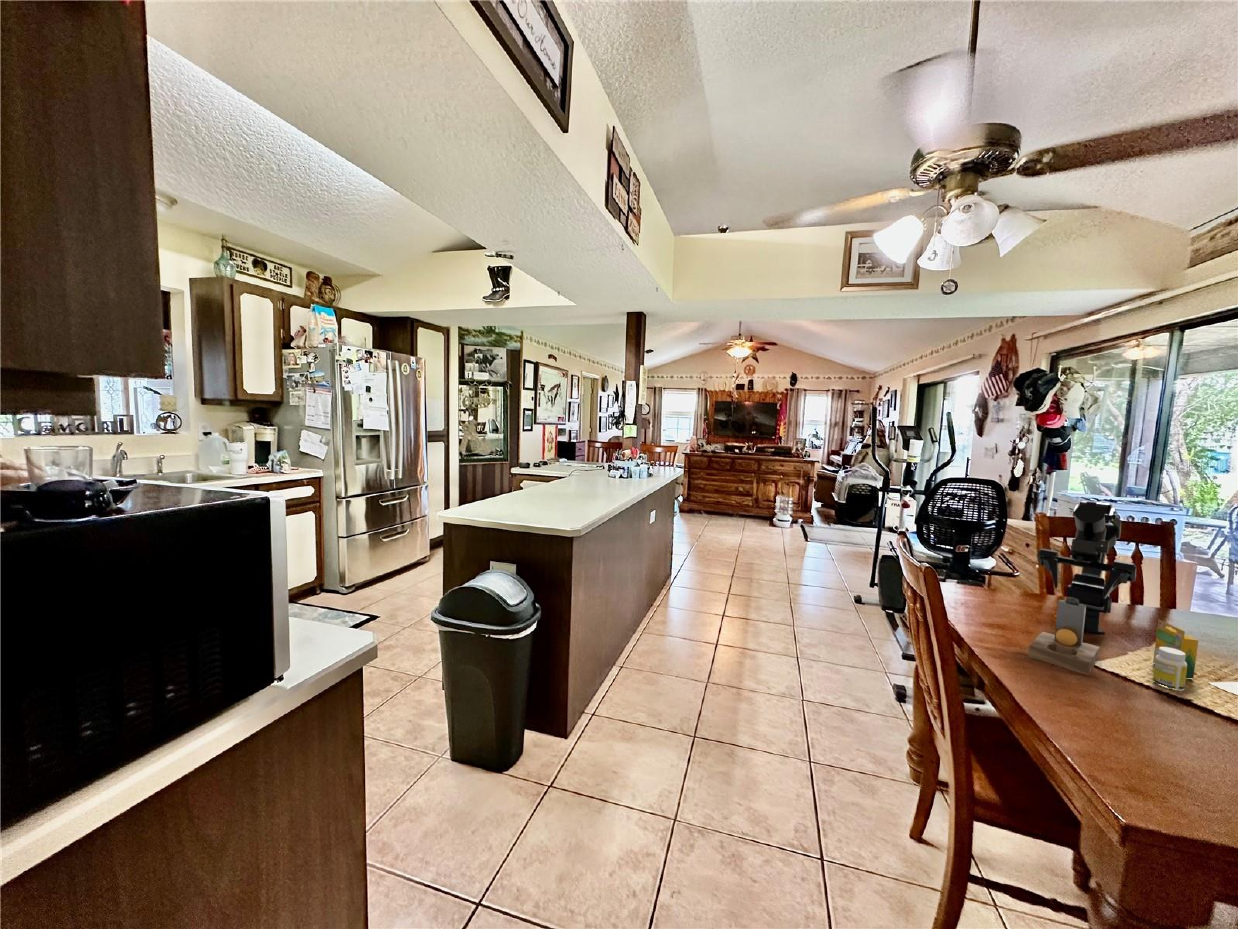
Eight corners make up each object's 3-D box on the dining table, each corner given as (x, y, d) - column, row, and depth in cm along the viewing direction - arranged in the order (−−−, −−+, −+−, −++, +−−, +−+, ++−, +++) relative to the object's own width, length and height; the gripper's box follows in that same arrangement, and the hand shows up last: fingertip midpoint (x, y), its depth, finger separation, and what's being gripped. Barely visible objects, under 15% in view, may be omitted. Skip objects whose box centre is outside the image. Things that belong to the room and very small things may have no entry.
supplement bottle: (1174, 682, 110) (1178, 647, 109) (1190, 693, 105) (1195, 657, 105) (1147, 679, 111) (1150, 644, 111) (1162, 689, 107) (1166, 653, 106)
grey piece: (1056, 635, 126) (1060, 595, 125) (1082, 642, 122) (1086, 600, 121) (1054, 638, 125) (1058, 597, 124) (1080, 645, 121) (1084, 602, 120)
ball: (1051, 640, 124) (1053, 625, 124) (1071, 642, 123) (1072, 627, 123) (1059, 646, 120) (1061, 631, 120) (1079, 649, 119) (1081, 634, 119)
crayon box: (1194, 681, 111) (1200, 633, 110) (1178, 679, 111) (1184, 631, 110) (1167, 665, 118) (1172, 620, 117) (1152, 664, 118) (1157, 619, 117)
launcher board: (1041, 642, 130) (1042, 631, 129) (1098, 658, 121) (1099, 646, 121) (1028, 657, 121) (1029, 645, 121) (1088, 675, 112) (1089, 663, 112)
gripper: (1041, 520, 133) (1029, 569, 128) (1139, 533, 118) (1130, 589, 113) (1045, 540, 139) (1034, 588, 134) (1139, 554, 125) (1131, 608, 119)
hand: (1079, 592), depth 125 cm, fingers open, 9 cm apart
